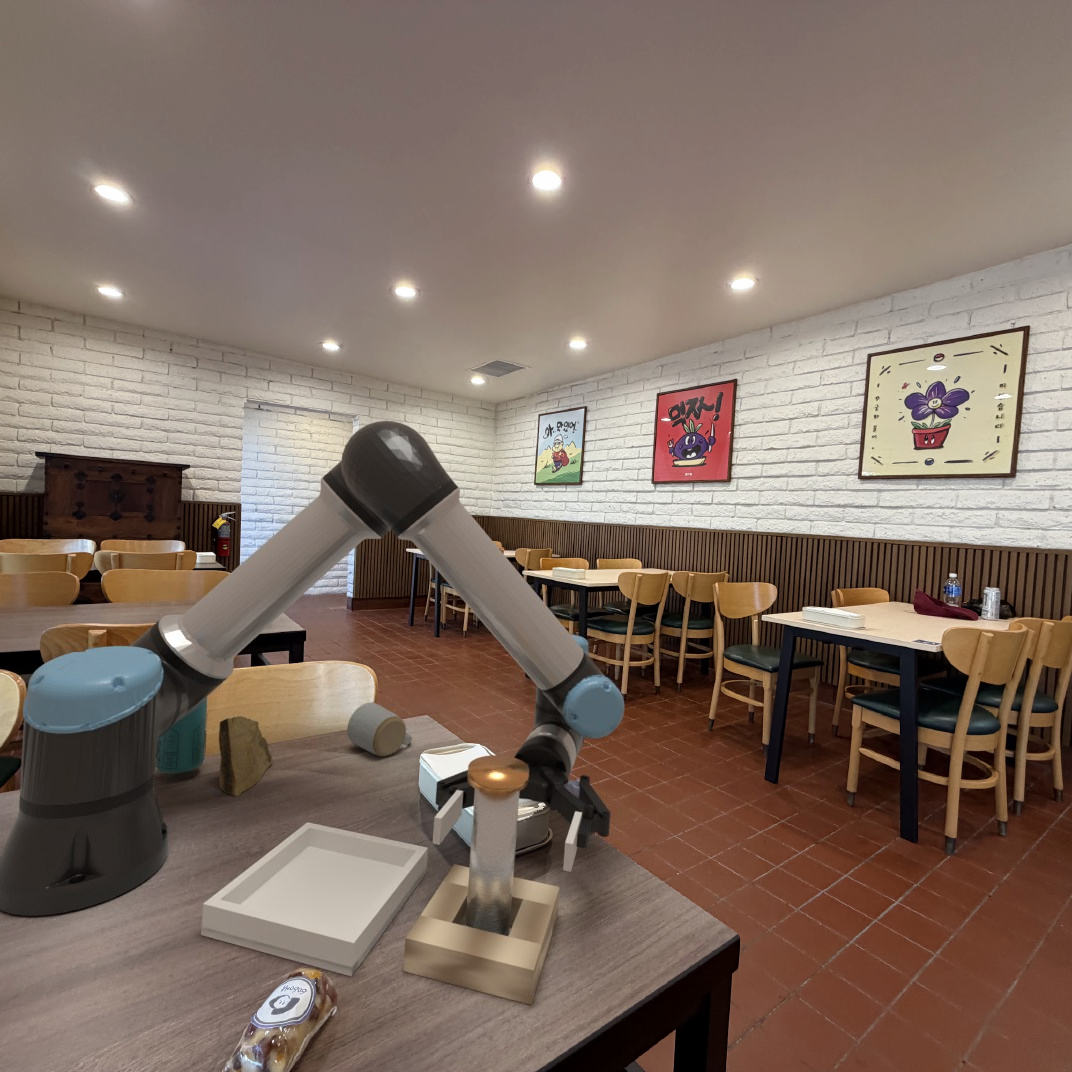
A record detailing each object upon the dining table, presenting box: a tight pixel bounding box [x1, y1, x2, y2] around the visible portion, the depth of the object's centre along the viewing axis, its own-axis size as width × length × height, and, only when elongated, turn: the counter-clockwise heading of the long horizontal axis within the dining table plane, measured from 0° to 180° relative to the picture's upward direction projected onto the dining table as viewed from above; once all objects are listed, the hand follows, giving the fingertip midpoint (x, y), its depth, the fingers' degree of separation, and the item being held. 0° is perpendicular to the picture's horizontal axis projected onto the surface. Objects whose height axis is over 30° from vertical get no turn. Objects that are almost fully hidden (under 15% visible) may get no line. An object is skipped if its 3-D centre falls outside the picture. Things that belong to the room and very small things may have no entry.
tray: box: [200, 822, 429, 977], centre depth 60 cm, size 16×16×3 cm
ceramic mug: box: [346, 702, 413, 757], centre depth 101 cm, size 11×8×8 cm
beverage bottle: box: [155, 697, 209, 774], centre depth 86 cm, size 6×7×20 cm
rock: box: [218, 715, 274, 798], centre depth 86 cm, size 11×9×10 cm
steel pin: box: [465, 754, 529, 936], centre depth 56 cm, size 6×6×17 cm
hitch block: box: [402, 864, 561, 1006], centre depth 56 cm, size 12×12×3 cm
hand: (500, 844), depth 56 cm, fingers open, 13 cm apart
